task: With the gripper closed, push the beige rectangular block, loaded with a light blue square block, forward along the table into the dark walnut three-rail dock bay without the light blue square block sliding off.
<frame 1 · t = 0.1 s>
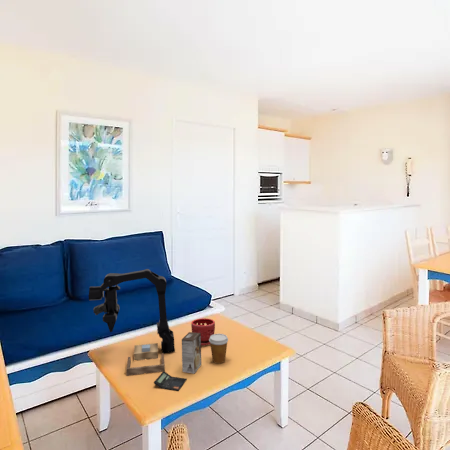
hand: (112, 328, 181), 15 cm above the table, fingers open, 9 cm apart
beige rectangular block: (146, 355, 183), on the table, touching light blue square block
calculator: (170, 384, 155), on the table
coffee box: (192, 368, 168), on the table
disposable coffee cup: (218, 360, 176), on the table
plant pot: (203, 342, 197), on the table
dock bay: (146, 366, 171), on the table
light blue square block: (146, 350, 180), point 4 cm above the table, touching beige rectangular block
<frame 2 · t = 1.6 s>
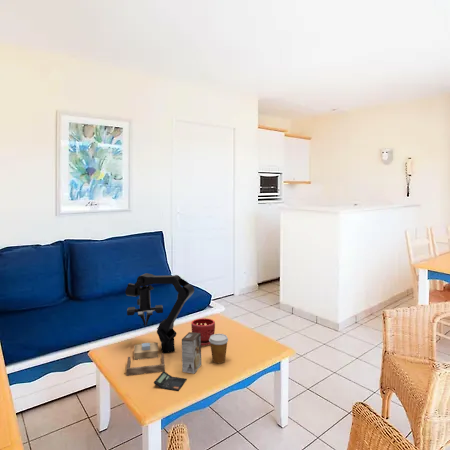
hand: (145, 325, 191), 12 cm above the table, fingers closed
beige rectangular block: (146, 355, 183), on the table
light blue square block: (146, 348, 182), point 4 cm above the table
everything else where it was.
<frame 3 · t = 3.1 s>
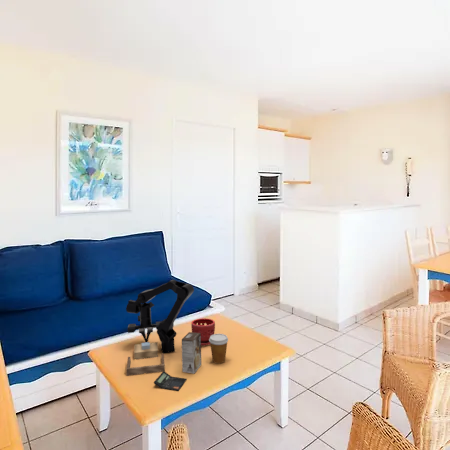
hand: (146, 342, 192), 3 cm above the table, fingers closed
beige rectangular block: (146, 354, 184), on the table, touching light blue square block
light blue square block: (145, 347, 183), point 4 cm above the table, touching beige rectangular block
everything else where it was.
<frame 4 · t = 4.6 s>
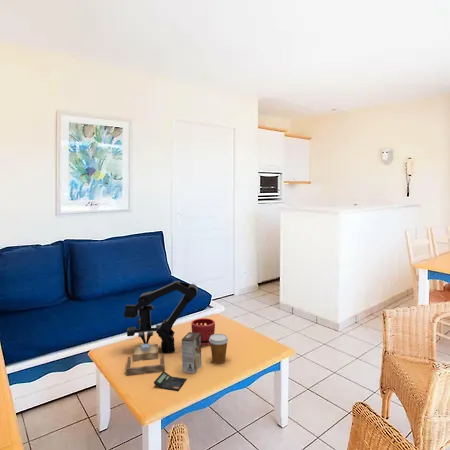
hand: (146, 345, 187), 3 cm above the table, fingers closed
beige rectangular block: (146, 356, 182), on the table, touching light blue square block
light blue square block: (145, 349, 182), point 3 cm above the table, touching beige rectangular block
everything else where it was.
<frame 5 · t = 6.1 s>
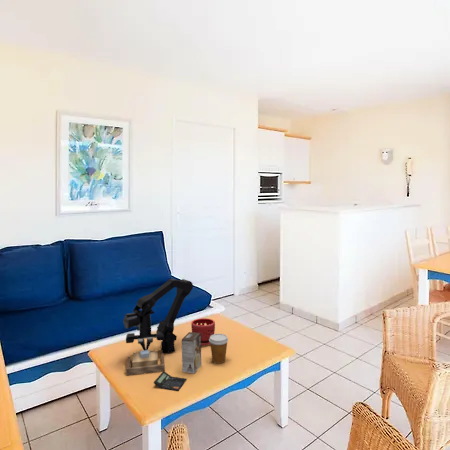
hand: (145, 353, 179), 3 cm above the table, fingers closed
beige rectangular block: (145, 364, 174), on the table
light blue square block: (144, 356, 174), point 4 cm above the table
everything else where it was.
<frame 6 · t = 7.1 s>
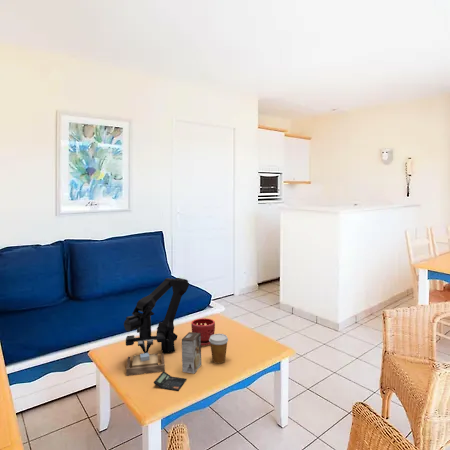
hand: (146, 355, 177), 3 cm above the table, fingers closed
beige rectangular block: (145, 367, 171), on the table, touching light blue square block
light blue square block: (144, 358, 171), point 3 cm above the table, touching beige rectangular block
everything else where it was.
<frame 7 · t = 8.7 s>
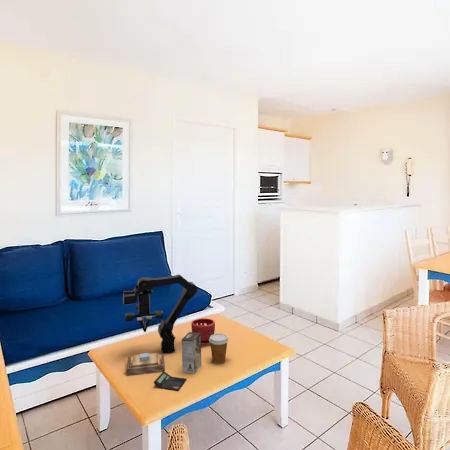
hand: (144, 331, 182), 12 cm above the table, fingers closed
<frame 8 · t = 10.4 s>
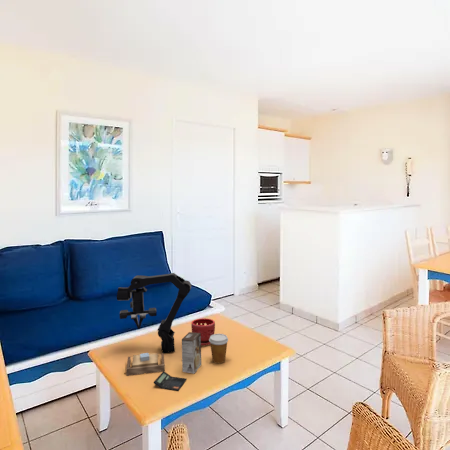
hand: (138, 328, 186), 12 cm above the table, fingers closed
nothing on the table moved.
at the end: beige rectangular block inside the target area (0.9 cm from its centre), on the table; light blue square block inside the target area on the beige rectangular block (0.6 cm from its centre), point 4.0 cm above the beige rectangular block's base; light blue square block tilted 0° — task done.
